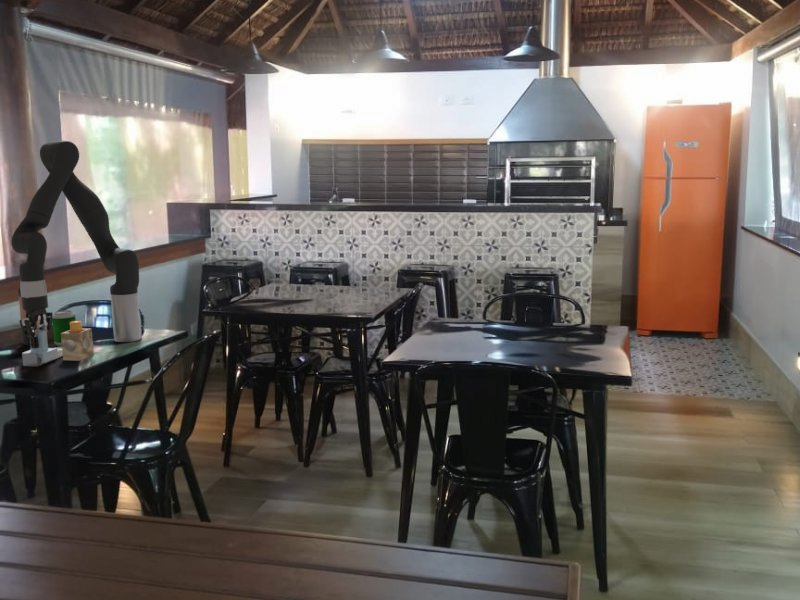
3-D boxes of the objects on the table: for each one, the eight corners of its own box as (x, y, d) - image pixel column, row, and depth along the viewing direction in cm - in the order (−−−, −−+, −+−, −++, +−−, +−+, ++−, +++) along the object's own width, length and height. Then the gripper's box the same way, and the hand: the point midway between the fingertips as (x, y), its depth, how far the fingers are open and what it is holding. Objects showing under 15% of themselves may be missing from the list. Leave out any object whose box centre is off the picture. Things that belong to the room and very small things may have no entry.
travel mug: (37, 346, 267) (31, 290, 264) (18, 345, 269) (12, 289, 265) (51, 341, 275) (46, 286, 271) (32, 340, 276) (27, 286, 273)
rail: (65, 348, 263) (64, 337, 262) (78, 349, 262) (77, 338, 261) (23, 366, 241) (22, 353, 240) (37, 366, 240) (36, 354, 239)
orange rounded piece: (75, 335, 251) (73, 320, 251) (85, 335, 251) (83, 320, 250) (68, 337, 248) (67, 323, 247) (78, 338, 247) (77, 323, 246)
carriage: (36, 356, 249) (34, 328, 248) (57, 357, 248) (55, 328, 246) (23, 362, 242) (20, 333, 241) (44, 362, 241) (41, 333, 240)
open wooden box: (77, 354, 255) (75, 328, 253) (94, 354, 254) (92, 328, 252) (62, 360, 247) (60, 333, 245) (80, 361, 246) (78, 334, 244)
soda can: (81, 344, 269) (78, 311, 266) (59, 348, 263) (56, 314, 261) (72, 341, 274) (69, 308, 272) (51, 345, 269) (48, 311, 267)
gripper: (37, 290, 249) (42, 341, 252) (8, 297, 235) (14, 351, 238) (58, 290, 248) (63, 341, 251) (30, 298, 234) (35, 352, 237)
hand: (39, 346), depth 244 cm, fingers open, 3 cm apart
